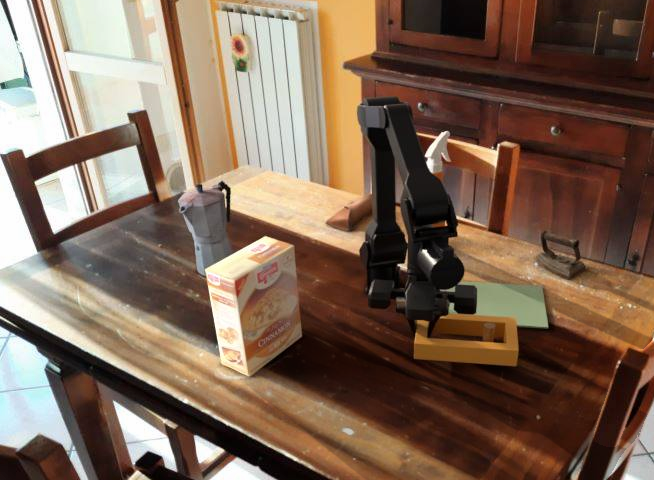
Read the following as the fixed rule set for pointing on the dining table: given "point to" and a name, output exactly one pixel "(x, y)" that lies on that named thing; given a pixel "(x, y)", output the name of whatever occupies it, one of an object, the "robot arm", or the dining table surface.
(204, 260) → the moka pot
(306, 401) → the dining table surface
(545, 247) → the clothes iron
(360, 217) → the sunglasses case
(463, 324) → the rectangular frame
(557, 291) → the dining table surface
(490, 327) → the peg stand
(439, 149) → the spray bottle
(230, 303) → the coffeecake box
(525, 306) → the mat
